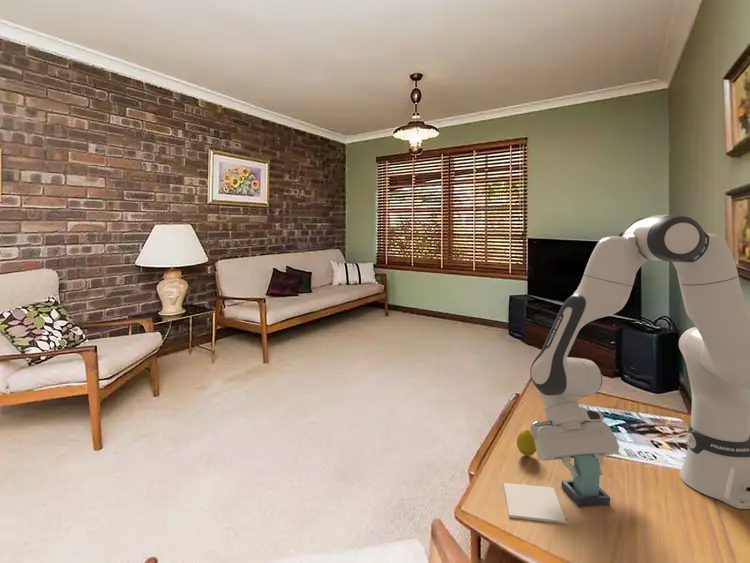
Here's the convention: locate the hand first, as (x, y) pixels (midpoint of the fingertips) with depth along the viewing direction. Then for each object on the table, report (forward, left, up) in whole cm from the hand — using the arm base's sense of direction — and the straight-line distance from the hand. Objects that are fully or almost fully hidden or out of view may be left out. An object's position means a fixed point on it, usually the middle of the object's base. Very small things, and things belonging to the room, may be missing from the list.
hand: (587, 476), depth 96 cm
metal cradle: (0, -1, -5) cm, 5 cm away
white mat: (+13, +4, -5) cm, 15 cm away
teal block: (0, -1, -5) cm, 5 cm away
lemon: (+11, -17, -6) cm, 21 cm away
